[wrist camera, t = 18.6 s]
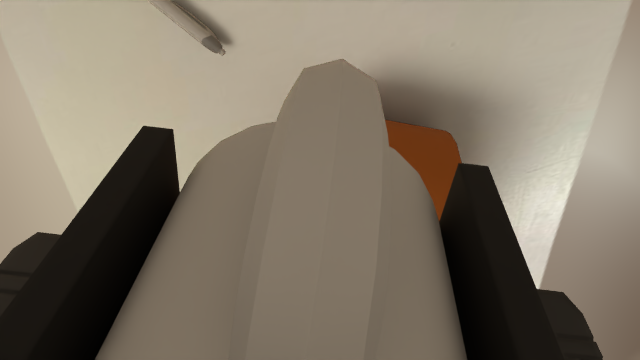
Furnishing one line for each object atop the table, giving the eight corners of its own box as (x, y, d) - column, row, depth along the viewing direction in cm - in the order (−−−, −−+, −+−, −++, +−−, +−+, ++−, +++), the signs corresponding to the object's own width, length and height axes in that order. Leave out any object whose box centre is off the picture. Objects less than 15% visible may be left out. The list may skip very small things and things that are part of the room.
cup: (187, 284, 16) (38, 666, 8) (176, -35, 10) (-349, 323, 3) (400, 317, 16) (433, 716, 9) (516, 23, 10) (930, 509, 3)
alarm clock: (336, 91, 36) (321, 245, 22) (452, 112, 36) (506, 277, 22) (295, 292, 49) (271, 462, 36) (379, 306, 50) (386, 480, 36)
